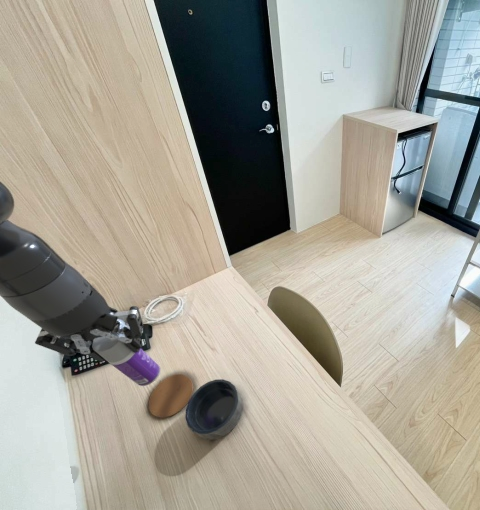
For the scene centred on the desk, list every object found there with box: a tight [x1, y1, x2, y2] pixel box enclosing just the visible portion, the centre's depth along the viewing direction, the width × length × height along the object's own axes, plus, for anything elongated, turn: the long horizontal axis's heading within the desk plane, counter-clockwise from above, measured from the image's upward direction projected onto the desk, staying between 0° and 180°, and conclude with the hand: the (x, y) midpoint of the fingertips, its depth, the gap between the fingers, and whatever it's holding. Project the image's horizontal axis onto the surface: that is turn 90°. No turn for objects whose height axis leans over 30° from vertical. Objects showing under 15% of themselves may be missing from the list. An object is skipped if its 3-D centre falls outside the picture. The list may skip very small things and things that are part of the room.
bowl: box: [184, 378, 244, 441], centre depth 63 cm, size 11×11×6 cm
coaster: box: [148, 373, 194, 419], centre depth 67 cm, size 10×10×1 cm
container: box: [92, 332, 161, 387], centre depth 52 cm, size 5×5×15 cm
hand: (122, 352), depth 50 cm, fingers closed on container, 4 cm apart
